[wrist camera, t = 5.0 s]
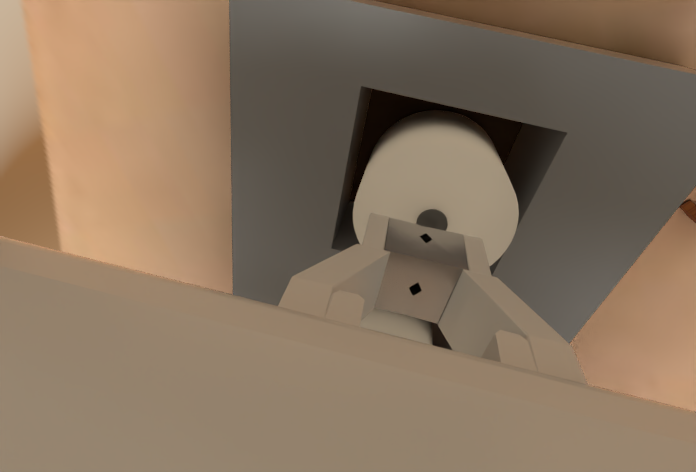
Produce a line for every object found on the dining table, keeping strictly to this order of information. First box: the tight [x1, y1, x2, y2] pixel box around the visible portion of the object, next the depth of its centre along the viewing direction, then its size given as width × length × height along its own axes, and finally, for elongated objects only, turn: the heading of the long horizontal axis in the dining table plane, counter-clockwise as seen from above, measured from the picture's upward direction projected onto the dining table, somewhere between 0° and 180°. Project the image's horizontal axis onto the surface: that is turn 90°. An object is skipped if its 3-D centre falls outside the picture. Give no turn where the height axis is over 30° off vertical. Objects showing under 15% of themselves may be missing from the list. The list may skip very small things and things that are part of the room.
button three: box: [360, 308, 433, 345], centre depth 17 cm, size 5×5×4 cm
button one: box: [353, 110, 519, 266], centre depth 12 cm, size 5×5×4 cm
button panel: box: [229, 0, 696, 350], centre depth 18 cm, size 14×26×4 cm, turn 170°
